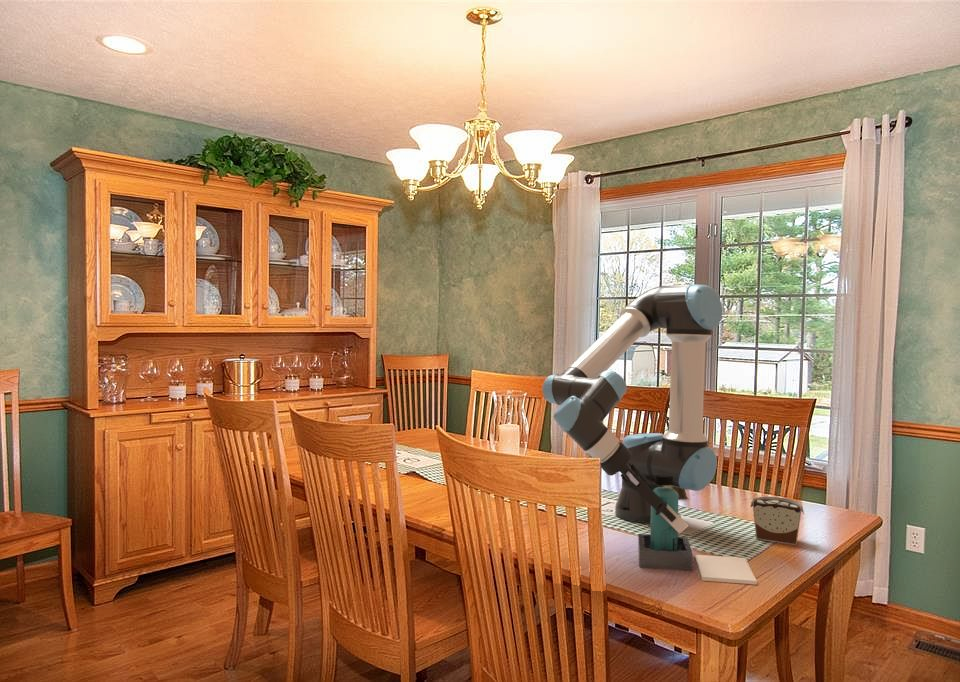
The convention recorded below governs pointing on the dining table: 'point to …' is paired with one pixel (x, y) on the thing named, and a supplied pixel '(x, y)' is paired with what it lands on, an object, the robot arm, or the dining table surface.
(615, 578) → the dining table surface
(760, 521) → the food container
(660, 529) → the beverage bottle
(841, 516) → the dining table surface
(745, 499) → the dining table surface
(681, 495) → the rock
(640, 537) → the bottle holder
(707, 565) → the coaster pad
